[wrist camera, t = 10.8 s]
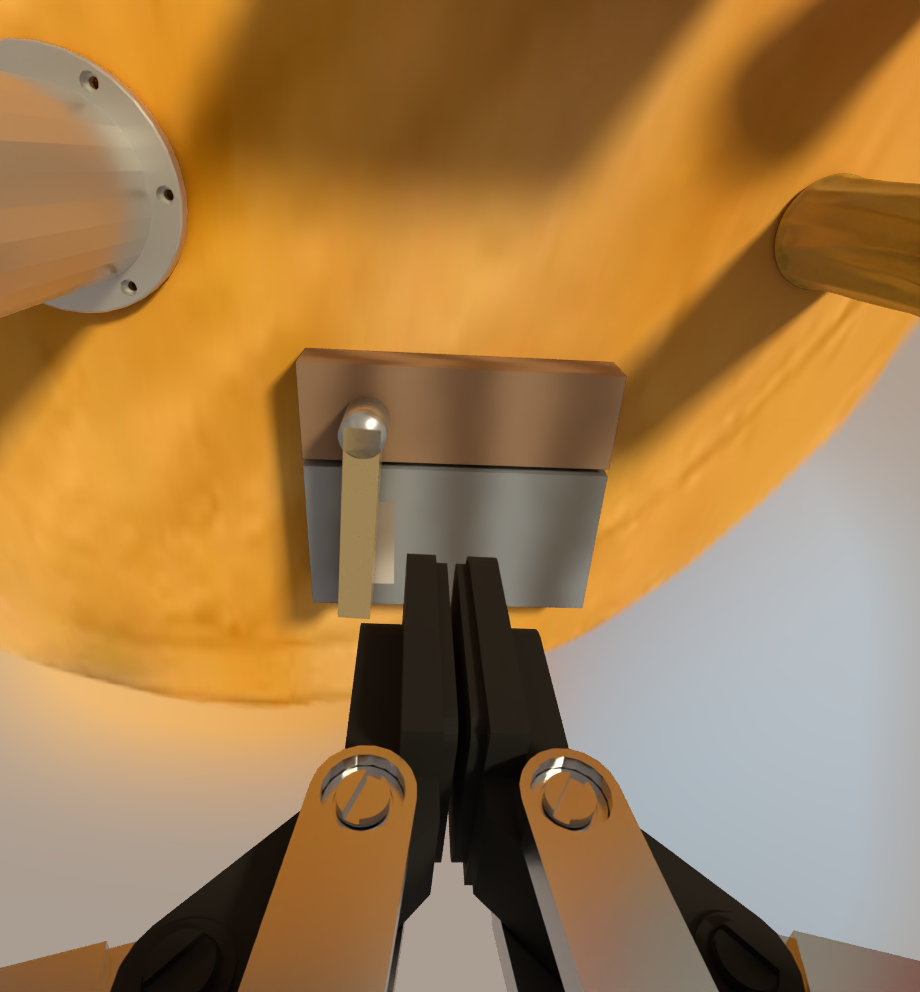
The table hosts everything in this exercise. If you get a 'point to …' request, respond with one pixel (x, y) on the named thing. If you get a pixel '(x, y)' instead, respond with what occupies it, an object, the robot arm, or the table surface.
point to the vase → (854, 240)
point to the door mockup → (466, 465)
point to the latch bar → (360, 502)
